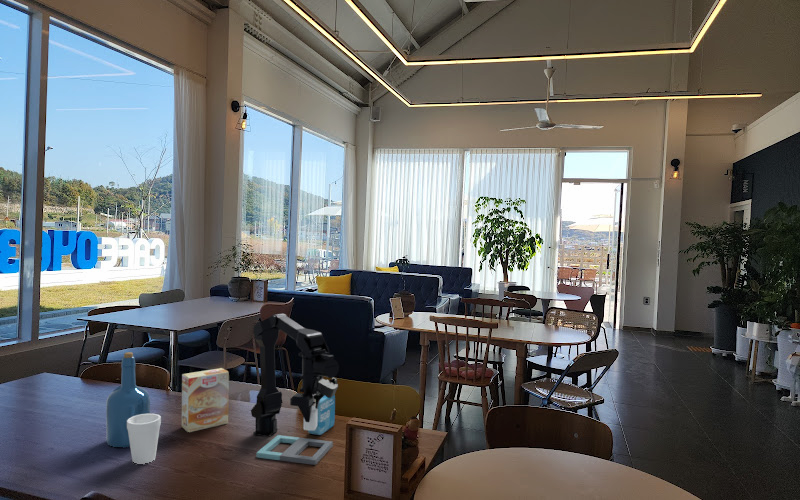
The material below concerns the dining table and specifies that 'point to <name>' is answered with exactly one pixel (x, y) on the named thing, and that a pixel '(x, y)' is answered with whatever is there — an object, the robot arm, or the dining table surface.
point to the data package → (325, 415)
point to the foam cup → (143, 437)
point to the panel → (295, 449)
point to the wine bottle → (125, 404)
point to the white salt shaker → (312, 419)
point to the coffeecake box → (205, 399)
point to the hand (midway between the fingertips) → (310, 419)
